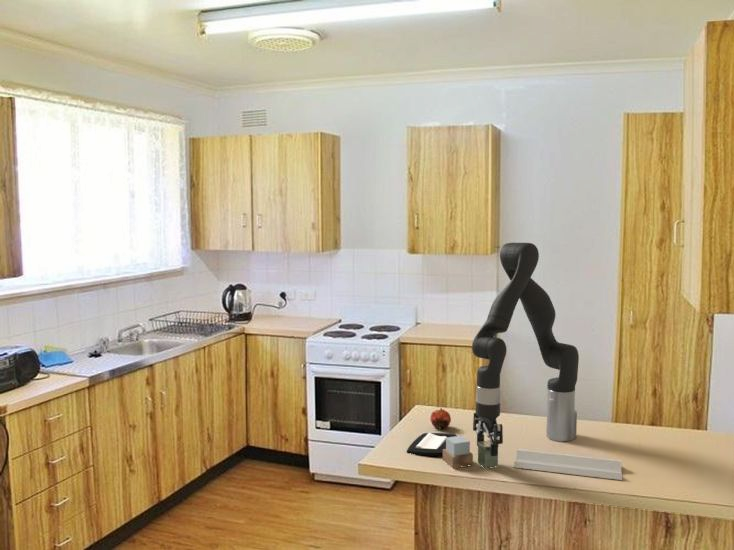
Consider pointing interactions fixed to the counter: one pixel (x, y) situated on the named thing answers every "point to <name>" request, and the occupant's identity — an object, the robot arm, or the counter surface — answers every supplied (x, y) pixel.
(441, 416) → the pomegranate
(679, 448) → the counter surface
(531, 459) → the crown molding
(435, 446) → the black flat rectangular tray
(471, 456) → the base block
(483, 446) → the tea tin
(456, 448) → the mid block
